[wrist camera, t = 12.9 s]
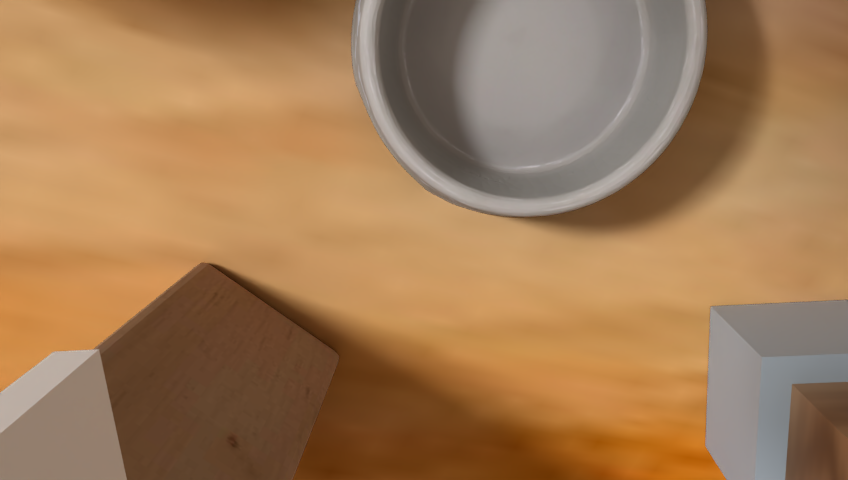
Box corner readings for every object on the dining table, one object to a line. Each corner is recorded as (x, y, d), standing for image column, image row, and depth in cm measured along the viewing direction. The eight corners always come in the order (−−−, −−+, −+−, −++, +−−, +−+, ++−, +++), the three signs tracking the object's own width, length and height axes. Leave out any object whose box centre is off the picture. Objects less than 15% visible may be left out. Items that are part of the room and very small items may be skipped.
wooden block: (344, 353, 42) (247, 607, 23) (254, 469, 44) (97, 788, 25) (204, 256, 41) (-24, 437, 22) (119, 380, 43) (-154, 644, 24)
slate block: (710, 306, 40) (761, 357, 33) (873, 298, 40) (958, 348, 33) (705, 445, 42) (752, 520, 36) (859, 440, 42) (936, 515, 35)
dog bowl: (571, -214, 34) (592, -263, 29) (748, 104, 38) (795, 112, 32) (293, -7, 37) (266, -17, 32) (480, 270, 41) (483, 302, 35)
